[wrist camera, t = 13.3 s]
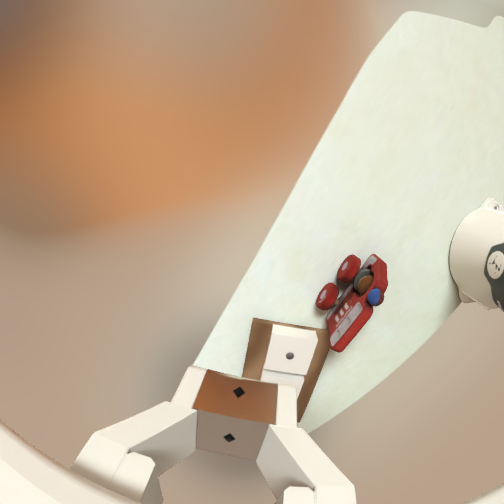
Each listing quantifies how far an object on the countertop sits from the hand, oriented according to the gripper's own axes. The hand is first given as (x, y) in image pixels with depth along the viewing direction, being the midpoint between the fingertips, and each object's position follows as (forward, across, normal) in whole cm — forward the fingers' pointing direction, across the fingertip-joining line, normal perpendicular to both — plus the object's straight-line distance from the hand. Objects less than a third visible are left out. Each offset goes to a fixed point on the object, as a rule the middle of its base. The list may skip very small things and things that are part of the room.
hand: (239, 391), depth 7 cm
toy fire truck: (+33, -13, +8) cm, 37 cm away
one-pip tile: (+32, -6, +19) cm, 37 cm away
